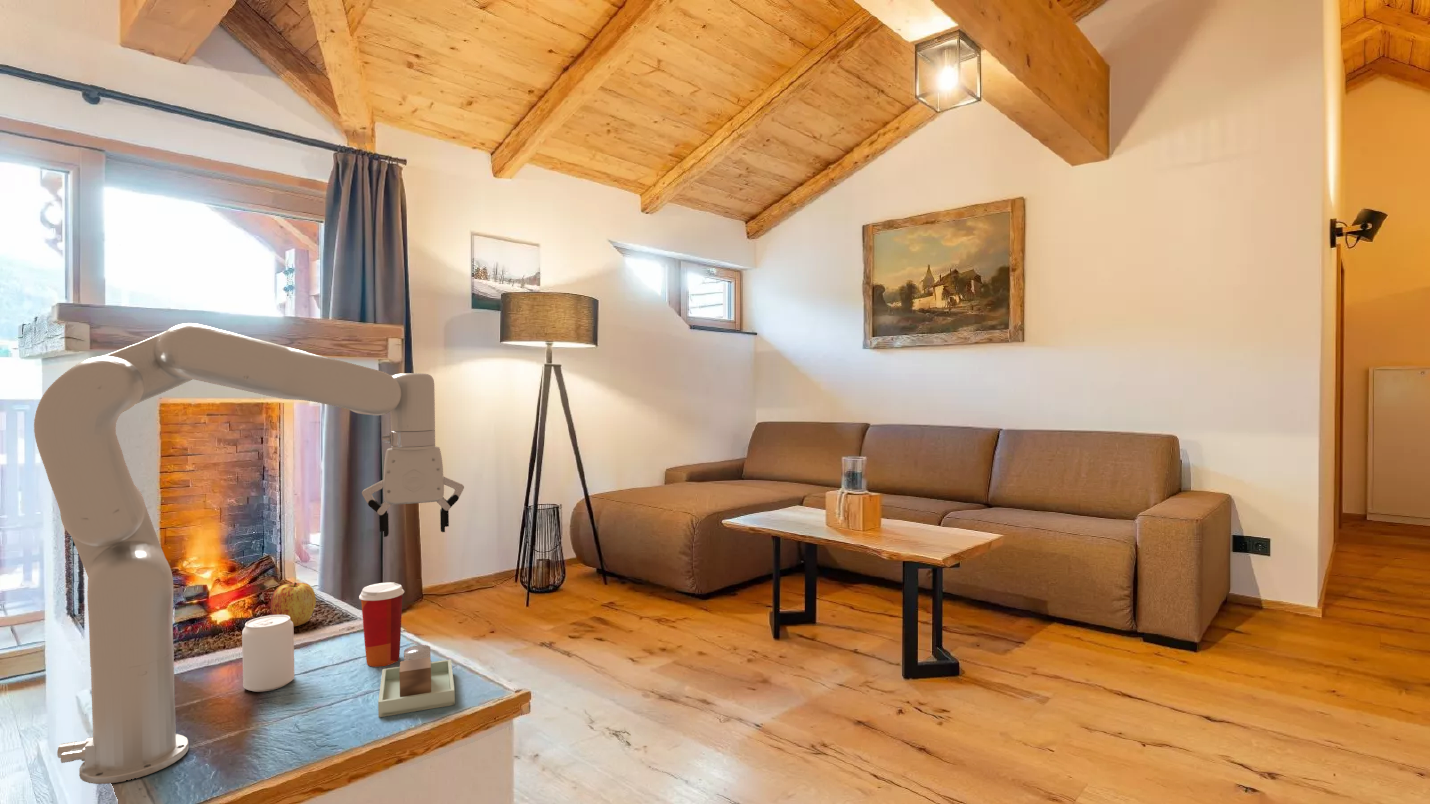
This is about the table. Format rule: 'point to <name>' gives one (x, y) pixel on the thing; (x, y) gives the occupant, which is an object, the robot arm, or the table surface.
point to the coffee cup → (382, 622)
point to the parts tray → (436, 698)
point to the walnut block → (415, 677)
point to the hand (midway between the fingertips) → (414, 533)
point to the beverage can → (268, 653)
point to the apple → (294, 602)
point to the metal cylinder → (417, 652)
